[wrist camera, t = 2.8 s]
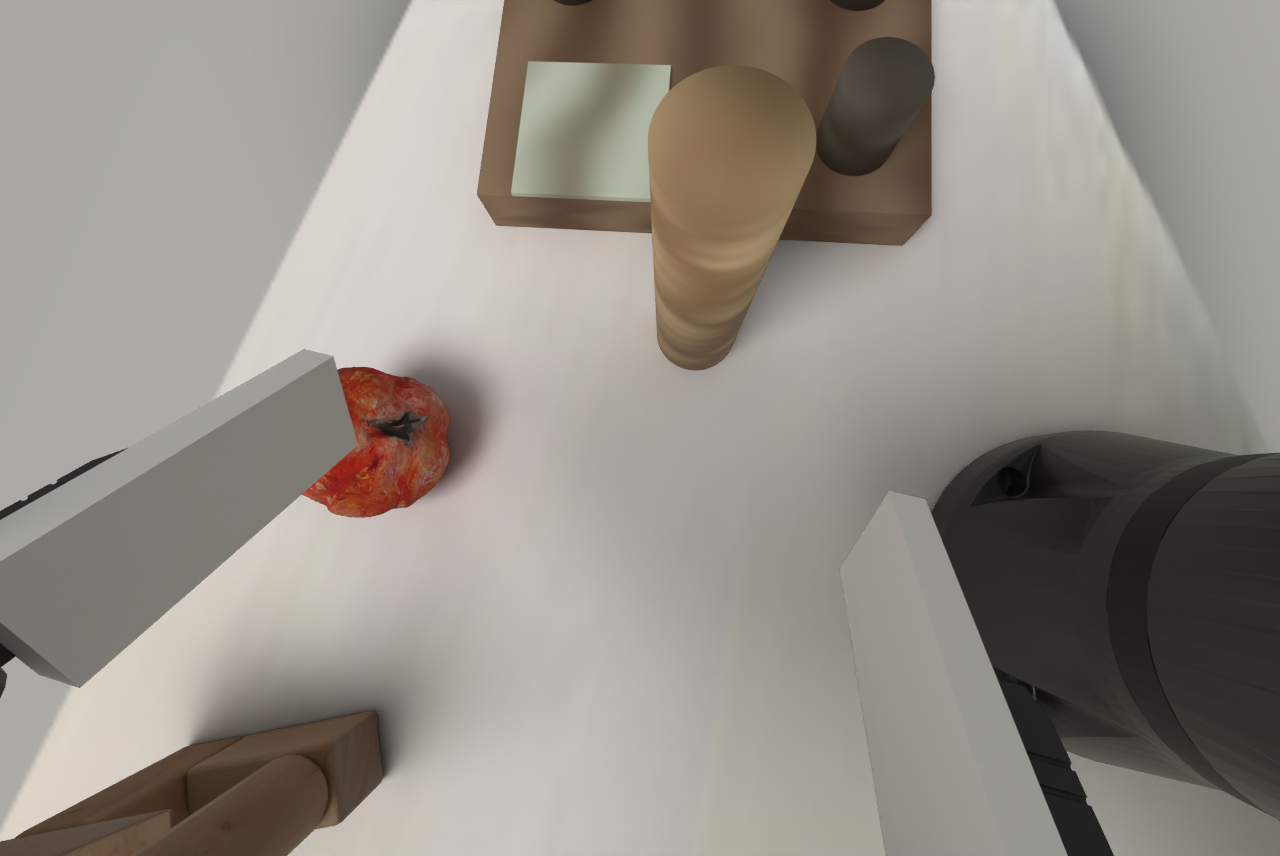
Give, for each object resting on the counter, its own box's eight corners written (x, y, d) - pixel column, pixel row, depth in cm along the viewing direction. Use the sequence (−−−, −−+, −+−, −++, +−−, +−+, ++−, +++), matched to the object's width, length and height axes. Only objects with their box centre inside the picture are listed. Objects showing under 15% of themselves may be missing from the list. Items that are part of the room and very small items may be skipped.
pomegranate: (384, 520, 29) (471, 535, 23) (234, 500, 24) (291, 512, 17) (415, 404, 31) (503, 387, 24) (282, 362, 26) (350, 326, 19)
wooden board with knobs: (904, -23, 30) (976, -179, 23) (902, 245, 27) (982, 160, 20) (530, -28, 31) (492, -176, 24) (496, 225, 29) (443, 140, 22)
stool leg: (736, 298, 27) (819, 67, 13) (731, 372, 27) (813, 220, 12) (660, 294, 28) (654, 62, 13) (654, 367, 27) (640, 212, 12)
